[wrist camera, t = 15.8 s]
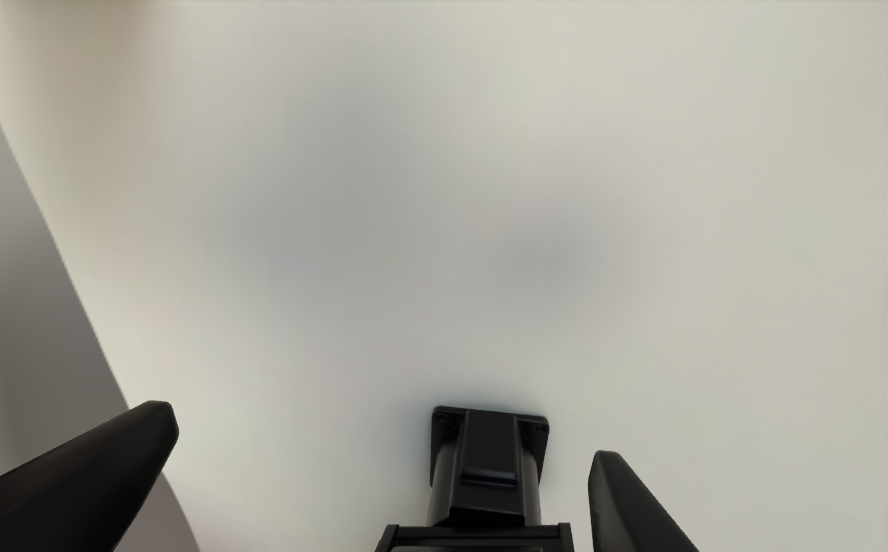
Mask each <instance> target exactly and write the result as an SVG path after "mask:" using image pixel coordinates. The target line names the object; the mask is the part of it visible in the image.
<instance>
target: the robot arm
mask: <svg viewBox="0 0 888 552" xmlns="http://www.w3.org/2000/svg"><path fill="white" fill-rule="evenodd" d="M440 414H441V415H444V416H439V415H440ZM538 425H542V427H538ZM548 435H549V422H548V420H547V419H546V418H544V417H540V416H530V415H521V414H512V413H502V412H493V411H483V410H474V409H465V408H455V407H446V406H438V407H436V408H435V409H434V410H433V414H432V434H431V468H430V486H431V488H432V492H431V498H430V505H429V511H428V517H427V523H426V526H402V527H400V526H399V525H398V524H397V525H387V527H386V529H385V531H384V533H383V536H382V538H381V540H380V541H379V543H378V546H377V548H376V550H375V552H575V551H574V545H573V539H572V533H571V527H570V523H558V525H542V524H541V511H540V499H539V483H540V478H541V472H542V467H543V462H544V456H545V451H546V446H547V440H548ZM178 436H179V428H178V424H177V421H176V418H175V415H174V411H173V408H172V406H171V404H169V403H168V402H163V401H154V400H151V401H147V402H145V403H143V404H141V405H139V406H137V407H135V408H133V409H131V410H129V411H127V412H125V413H123V414H121V415H119V416H117V417H115V418H113V419H111V420H109V421H107V422H105V423H103V424H101V425H99V426H98V427H96V428H94V429H92V430H90V431H88V432H86V433H84V434H82V435H80V436H78V437H76V438H74V439H72V440H70V441H68V442H66V443H64V444H62V445H60V446H58V447H56V448H54V449H52V450H50V451H48V452H47V453H44V454H42V455H41V456H39V457H37V458H35V459H33V460H31V461H29V462H27V463H25V464H23V465H21V466H19V467H17V468H15V469H13V470H11V471H9V472H7V473H5V474H3V475H1V476H0V552H113V551H114V550H115V548H116V547H117V545H118V543H119V542H120V540H121V539H122V537H123V536H124V534H125V533H126V531H127V530H128V528H129V527H130V525H131V524H132V521H134V519H135V517H136V516H137V514H138V512H139V511H140V509H141V507H142V506H143V504H144V502H145V500H146V499H147V497H148V495H149V493H150V491H151V489H152V487H153V486H154V484H155V482H156V480H157V478H158V476H159V474H160V472H161V471H162V469H163V467H164V465H165V463H166V461H167V459H168V457H169V455H170V454H171V452H172V450H173V448H174V446H175V444H176V442H177V440H178ZM588 494H589V505H590V516H591V527H592V538H593V548H594V552H699V551H698V549H697V548H696V547H695V546H694V544H693V543H692V542H691V541H690V540H689V538H688V537H687V536H686V535H685V533H684V532H683V531H682V530H681V529H680V527H679V526H678V525H677V524H676V522H675V521H674V520H673V519H672V518H671V516H670V515H669V514H668V513H667V511H666V510H665V509H664V508H663V507H662V505H661V504H660V503H659V502H658V500H657V499H656V498H655V497H654V496H653V494H652V493H651V492H650V491H649V489H648V488H647V487H646V486H645V485H644V483H643V482H642V481H641V480H640V478H639V477H638V476H637V475H636V474H635V472H634V471H633V470H632V469H631V467H630V466H629V465H628V464H627V463H626V461H625V460H624V459H623V458H622V457H621V455H620V454H618V453H617V452H612V451H603V450H598V451H596V453H595V455H594V459H593V463H592V467H591V471H590V474H589V479H588Z"/></svg>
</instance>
